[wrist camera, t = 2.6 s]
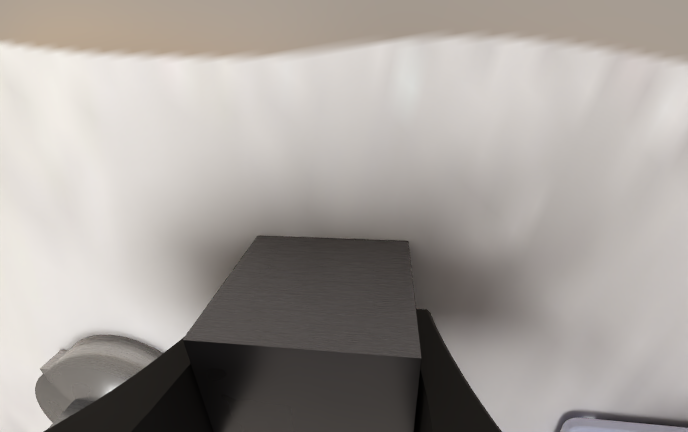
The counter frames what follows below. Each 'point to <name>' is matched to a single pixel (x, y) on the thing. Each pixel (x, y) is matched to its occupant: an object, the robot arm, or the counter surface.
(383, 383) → the charcoal grey cube
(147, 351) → the ratchet
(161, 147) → the counter surface
